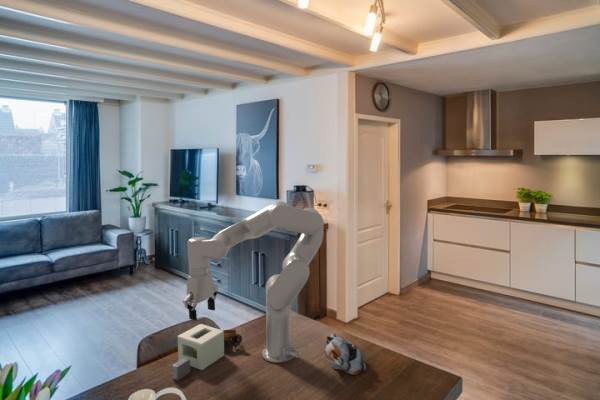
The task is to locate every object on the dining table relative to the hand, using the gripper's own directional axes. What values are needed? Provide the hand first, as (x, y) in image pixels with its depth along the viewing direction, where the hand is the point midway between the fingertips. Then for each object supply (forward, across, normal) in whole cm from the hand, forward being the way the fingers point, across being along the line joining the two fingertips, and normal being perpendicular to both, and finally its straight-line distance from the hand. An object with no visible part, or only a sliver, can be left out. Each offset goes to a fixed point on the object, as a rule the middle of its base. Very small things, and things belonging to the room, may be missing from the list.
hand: (202, 314), depth 144 cm
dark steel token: (+17, +13, +1) cm, 22 cm away
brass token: (+17, +1, -1) cm, 17 cm away
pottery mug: (+18, -11, +2) cm, 21 cm away
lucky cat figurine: (+20, -20, +49) cm, 57 cm away
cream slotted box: (+17, +1, -1) cm, 17 cm away
